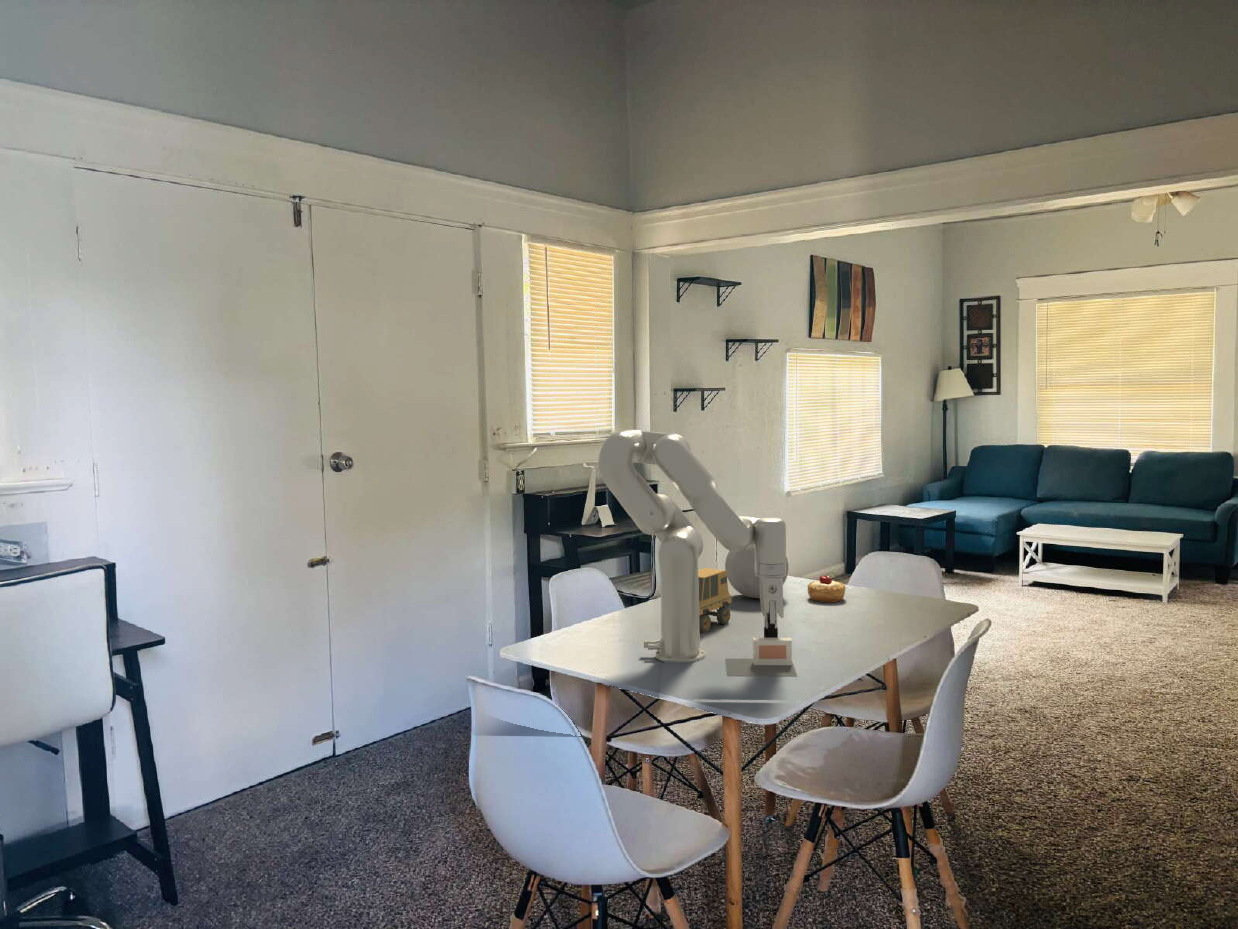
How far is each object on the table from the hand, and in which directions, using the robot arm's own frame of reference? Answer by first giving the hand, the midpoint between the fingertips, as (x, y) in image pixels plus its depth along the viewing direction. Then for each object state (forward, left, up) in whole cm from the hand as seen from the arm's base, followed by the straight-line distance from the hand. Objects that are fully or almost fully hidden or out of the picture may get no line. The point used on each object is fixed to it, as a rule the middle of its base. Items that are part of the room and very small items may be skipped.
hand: (770, 643), depth 226 cm
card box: (0, -4, -4) cm, 5 cm away
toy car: (-17, +35, -5) cm, 39 cm away
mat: (-3, -7, -4) cm, 9 cm away
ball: (+1, +71, -5) cm, 71 cm away
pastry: (+23, +69, -5) cm, 73 cm away
